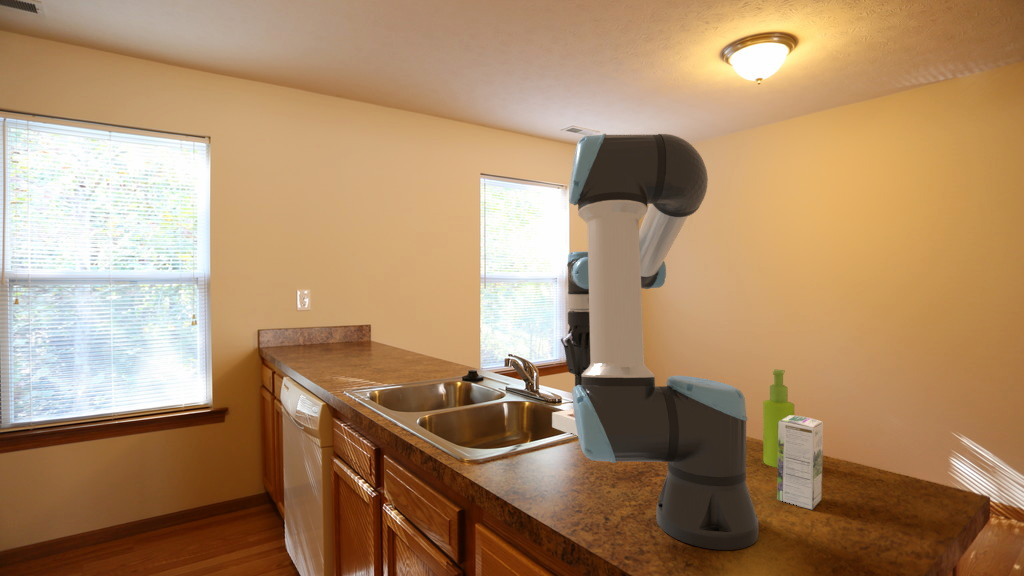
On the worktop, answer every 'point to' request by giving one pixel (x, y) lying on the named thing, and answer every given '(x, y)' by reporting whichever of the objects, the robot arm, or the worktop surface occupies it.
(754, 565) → the worktop surface
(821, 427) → the syrup box
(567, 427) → the button panel
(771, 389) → the soap dispenser
